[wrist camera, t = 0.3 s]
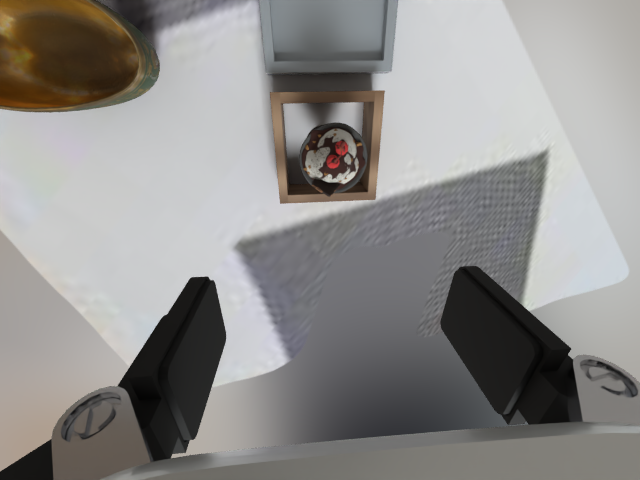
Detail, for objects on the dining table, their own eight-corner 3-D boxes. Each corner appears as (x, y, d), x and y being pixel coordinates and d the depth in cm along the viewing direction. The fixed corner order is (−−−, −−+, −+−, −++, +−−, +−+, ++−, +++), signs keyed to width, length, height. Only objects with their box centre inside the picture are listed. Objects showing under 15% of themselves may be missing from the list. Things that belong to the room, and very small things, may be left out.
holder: (273, 94, 31) (269, 92, 27) (372, 92, 32) (384, 90, 27) (282, 191, 37) (280, 203, 32) (366, 188, 37) (375, 199, 33)
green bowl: (-45, -98, 23) (-266, -226, 14) (187, 52, 29) (138, 31, 20) (-46, 55, 27) (-210, 34, 18) (153, 156, 33) (102, 176, 25)
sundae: (332, 106, 32) (356, 107, 19) (357, 153, 35) (395, 182, 22) (288, 137, 33) (283, 158, 20) (317, 180, 36) (328, 223, 23)
